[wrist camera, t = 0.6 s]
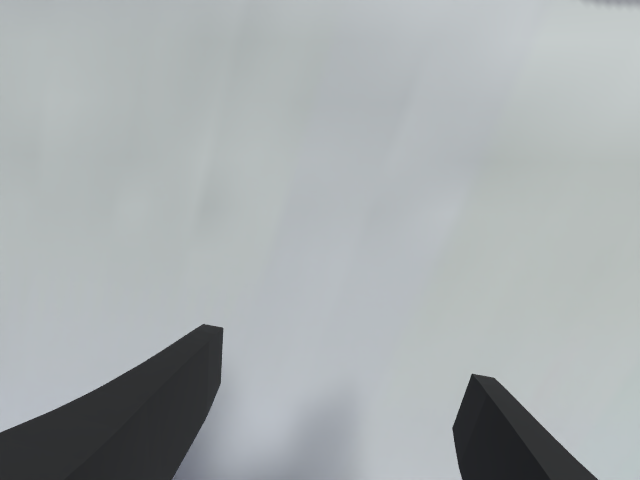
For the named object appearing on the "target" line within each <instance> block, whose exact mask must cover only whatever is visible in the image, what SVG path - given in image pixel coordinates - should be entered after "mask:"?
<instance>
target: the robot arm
mask: <svg viewBox="0 0 640 480" xmlns="http://www.w3.org/2000/svg"><path fill="white" fill-rule="evenodd" d="M222 344H223V328H222V327H216V326H211V325H205V324H203V325H201V326H199V327H198V328H196V329H195V330H193V331H192V332H190V333H189V334H187V335H185V336H184V337H182V338H181V339H179V340H178V341H176V342H175V343H173V344H172V345H170V346H169V347H167V348H166V349H164V350H162V351H161V352H159V353H158V354H156V355H154V356H153V357H151V358H150V359H148V360H147V361H145V362H143V363H142V364H140V365H138V366H137V367H135V368H133V369H131V370H130V371H128V372H126V373H124V374H123V375H121V376H119V377H117V378H116V379H114V380H112V381H110V382H109V383H107V384H105V385H103V386H101V387H99V388H98V389H96V390H94V391H92V392H90V393H88V394H86V395H84V396H82V397H80V398H78V399H76V400H74V401H72V402H70V403H67V404H65V405H63V406H61V407H59V408H57V409H55V410H53V411H50V412H48V413H46V414H44V415H41V416H39V417H36V418H34V419H32V420H29V421H27V422H25V423H22V424H20V425H17V426H15V427H13V428H10V429H8V430H5V431H3V432H1V433H0V480H172V478H173V477H174V475H175V473H176V471H177V469H178V468H179V466H180V464H181V462H182V461H183V459H184V457H185V455H186V453H187V452H188V450H189V448H190V446H191V444H192V443H193V441H194V439H195V437H196V435H197V434H198V432H199V430H200V428H201V426H202V424H203V423H204V421H205V419H206V417H207V415H208V413H209V410H210V408H211V406H212V403H213V401H214V398H215V396H216V393H217V391H218V388H219V386H220V384H221V365H222ZM452 429H453V435H454V442H455V448H456V454H457V459H458V465H459V469H460V473H461V477H462V480H598V479H597V478H596V477H595V476H593V475H592V474H591V473H590V472H589V471H588V470H587V469H586V468H585V467H584V466H583V465H582V464H580V463H579V462H578V461H577V460H576V459H575V458H574V457H573V456H572V455H571V454H570V453H569V452H568V451H567V450H566V449H565V448H564V447H563V446H562V445H561V444H560V443H559V442H558V441H557V440H556V439H555V438H554V437H553V436H552V435H551V434H550V433H549V432H548V431H547V430H546V429H545V428H544V427H543V426H542V425H541V424H540V423H539V422H538V421H537V420H536V419H535V418H534V417H533V416H532V415H531V414H530V413H529V412H528V411H527V410H526V409H525V408H524V407H523V406H522V405H521V404H520V403H519V402H518V401H517V400H516V399H515V398H514V397H513V396H512V395H511V394H510V393H509V392H508V391H507V390H506V389H505V388H504V387H503V386H502V385H501V384H500V383H499V382H498V381H497V380H496V379H495V378H492V377H487V376H481V375H476V374H472V375H471V378H470V381H469V383H468V386H467V389H466V392H465V395H464V397H463V400H462V403H461V406H460V409H459V411H458V414H457V417H456V420H455V423H454V425H453V428H452Z"/></svg>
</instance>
